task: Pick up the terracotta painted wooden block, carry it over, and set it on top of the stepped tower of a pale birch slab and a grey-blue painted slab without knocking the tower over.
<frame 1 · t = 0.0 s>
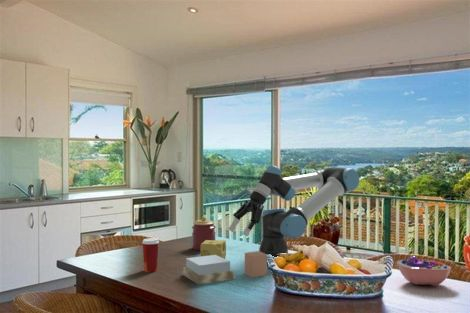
hand: (237, 232, 212), 15 cm above the table, tool tilted 35°, fingers open, 13 cm apart
cell model: (423, 285, 181), on the table
cheese: (213, 262, 219), on the table
tower top: (207, 269, 193), point 3 cm above the table, touching tower base
tower base: (208, 278, 194), on the table, touching tower top
paper cup: (150, 271, 204), on the table
canister: (203, 248, 250), on the table
terracotta block: (255, 274, 198), on the table
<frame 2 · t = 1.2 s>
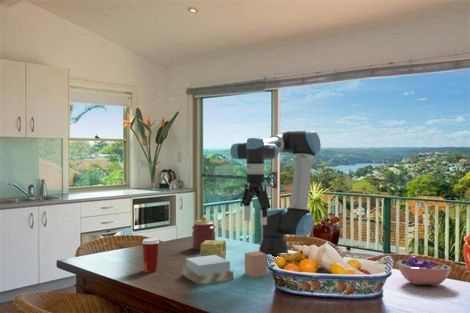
hand: (255, 222, 197), 22 cm above the table, tool pointing down, fingers open, 13 cm apart
nothing on the table moved.
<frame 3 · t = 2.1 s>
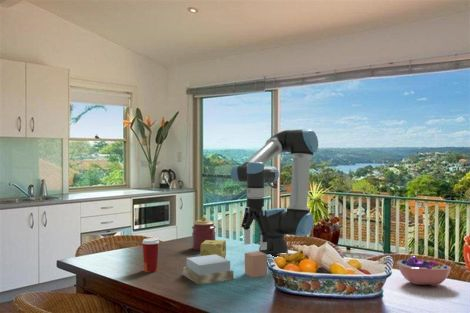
hand: (255, 246, 197), 12 cm above the table, tool pointing down, fingers open, 13 cm apart
nothing on the table moved.
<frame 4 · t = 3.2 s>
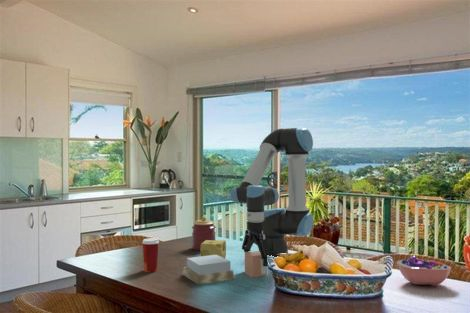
hand: (255, 270, 198), 2 cm above the table, tool pointing down, fingers open, 13 cm apart
nothing on the table moved.
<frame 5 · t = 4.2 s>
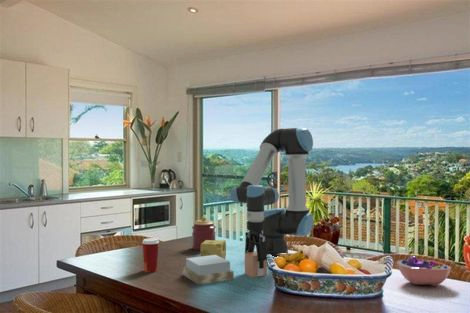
hand: (255, 273, 198), 0 cm above the table, tool pointing down, fingers closed on terracotta block, 7 cm apart
terracotta block: (255, 274, 198), on the table, touching gripper
everything else where it was.
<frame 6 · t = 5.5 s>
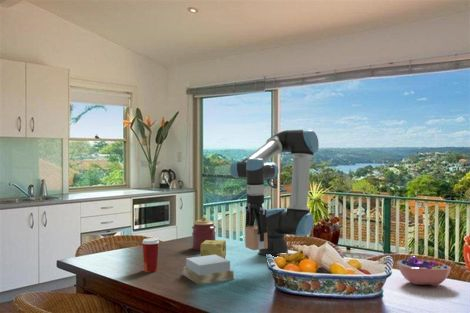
hand: (256, 246, 198), 12 cm above the table, tool pointing down, fingers closed on terracotta block, 7 cm apart
terracotta block: (256, 247, 198), point 11 cm above the table, touching gripper
everything else where it was.
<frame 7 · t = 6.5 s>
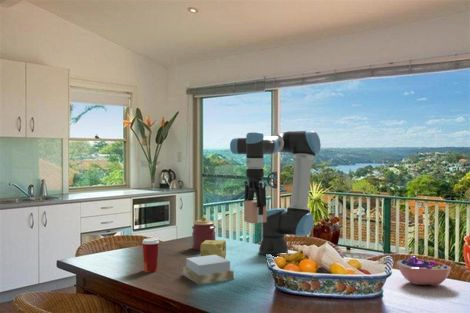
hand: (255, 221, 197), 23 cm above the table, tool pointing down, fingers closed on terracotta block, 7 cm apart
terracotta block: (255, 221, 198), point 23 cm above the table, touching gripper
everything else where it was.
when the fingers open (9 cm above the table, at t = 11.3 s): terracotta block drops 1 cm, resting on tower top.
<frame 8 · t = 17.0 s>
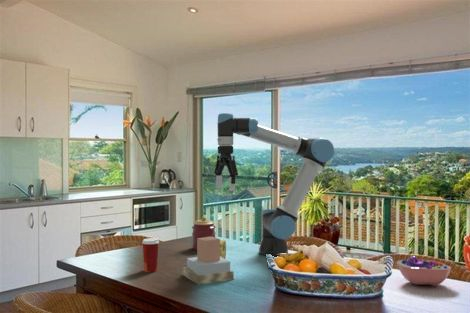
hand: (225, 189, 220), 35 cm above the table, tool pointing down, fingers open, 13 cm apart
tower top: (208, 269, 193), point 3 cm above the table, touching terracotta block, tower base
terracotta block: (208, 259, 193), point 7 cm above the table, touching tower top
everything else where it was.
at the end: terracotta block inside the target area on the tower base (0.2 cm from its centre), point 8.0 cm above the tower base's base; terracotta block tilted 0°; tower top 0.1 cm off-centre on the tower base, point 4.0 cm above the tower base's base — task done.
